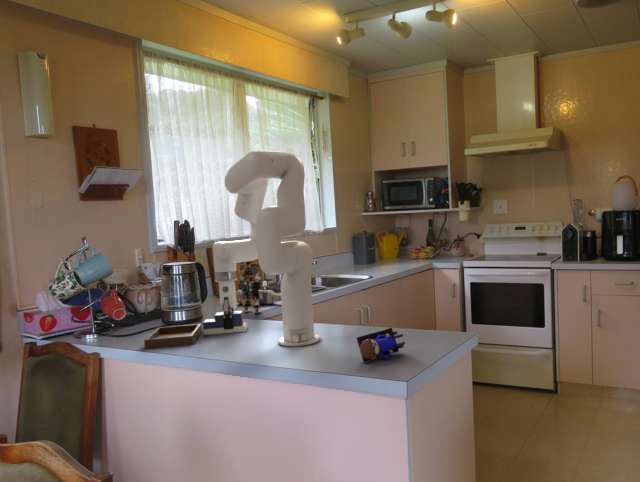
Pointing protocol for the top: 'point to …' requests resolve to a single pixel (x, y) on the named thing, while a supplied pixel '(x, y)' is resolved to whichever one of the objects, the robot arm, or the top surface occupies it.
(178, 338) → the tray
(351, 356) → the top surface
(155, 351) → the top surface
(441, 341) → the top surface
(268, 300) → the decorative bottle
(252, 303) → the toy
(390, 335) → the character figurine
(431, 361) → the top surface
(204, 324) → the navy stepped block
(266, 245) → the robot arm
